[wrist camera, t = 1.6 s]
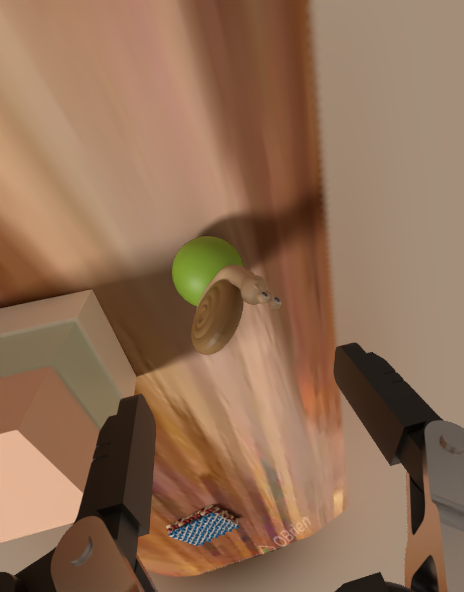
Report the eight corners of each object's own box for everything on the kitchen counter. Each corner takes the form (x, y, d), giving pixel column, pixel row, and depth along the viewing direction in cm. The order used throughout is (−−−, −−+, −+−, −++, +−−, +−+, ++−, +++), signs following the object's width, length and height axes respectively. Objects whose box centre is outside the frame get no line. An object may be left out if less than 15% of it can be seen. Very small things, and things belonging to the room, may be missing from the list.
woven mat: (212, 499, 47) (213, 513, 45) (240, 514, 52) (242, 527, 51) (163, 523, 48) (163, 537, 46) (196, 535, 54) (196, 548, 52)
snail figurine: (254, 235, 22) (321, 319, 12) (217, 295, 24) (246, 407, 14) (196, 202, 20) (218, 272, 10) (161, 271, 22) (150, 385, 12)
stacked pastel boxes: (-48, 318, 21) (-253, 487, 11) (92, 289, 22) (21, 420, 12) (28, 402, 27) (-59, 562, 17) (136, 377, 28) (114, 514, 18)
